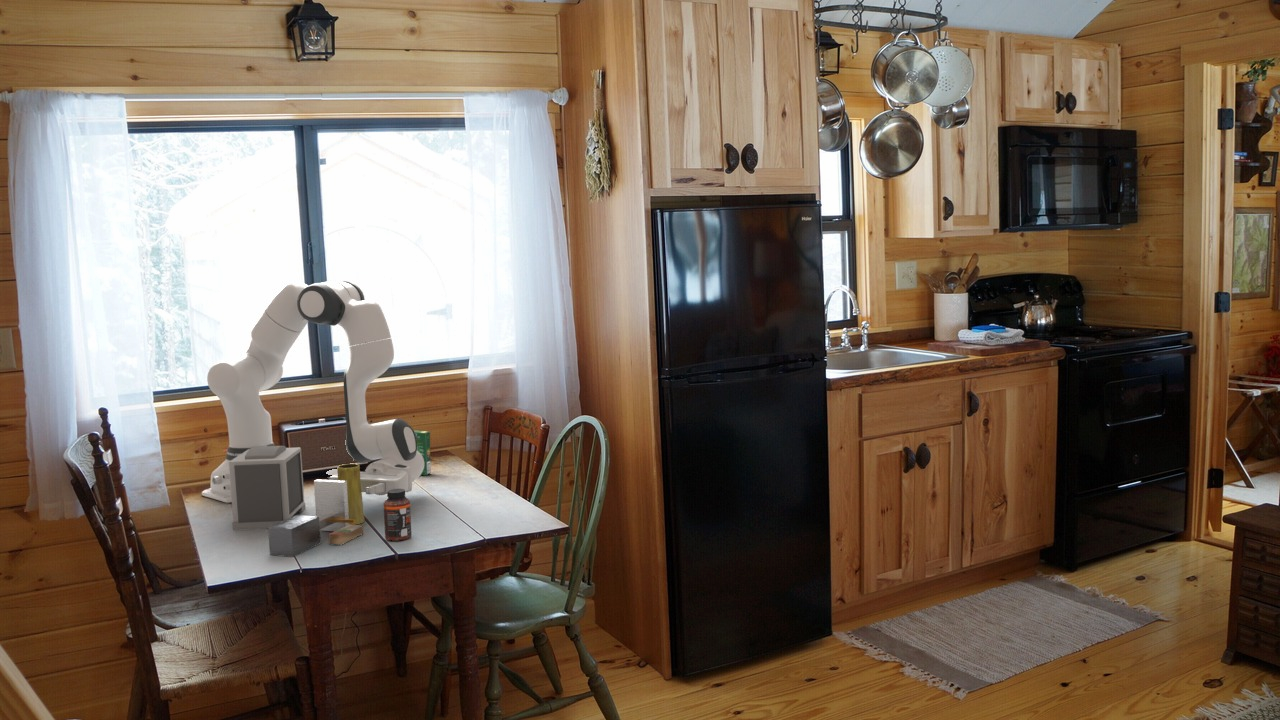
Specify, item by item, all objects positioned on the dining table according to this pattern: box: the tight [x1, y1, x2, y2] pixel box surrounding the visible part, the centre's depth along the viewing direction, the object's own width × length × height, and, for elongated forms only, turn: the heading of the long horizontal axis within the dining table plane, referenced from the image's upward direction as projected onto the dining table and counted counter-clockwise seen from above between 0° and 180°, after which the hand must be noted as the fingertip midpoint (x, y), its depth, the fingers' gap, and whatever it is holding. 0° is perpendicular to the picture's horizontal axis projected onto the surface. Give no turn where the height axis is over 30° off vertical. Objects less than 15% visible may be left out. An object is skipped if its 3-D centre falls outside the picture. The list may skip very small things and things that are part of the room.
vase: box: [337, 463, 365, 525], centre depth 245 cm, size 6×6×14 cm
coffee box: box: [413, 429, 432, 476], centre depth 296 cm, size 8×3×13 cm, turn 71°
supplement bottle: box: [383, 489, 412, 542], centre depth 231 cm, size 6×6×11 cm
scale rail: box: [328, 524, 364, 546], centre depth 232 cm, size 3×9×2 cm, turn 162°
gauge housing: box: [267, 514, 321, 557], centre depth 225 cm, size 6×10×6 cm, turn 162°
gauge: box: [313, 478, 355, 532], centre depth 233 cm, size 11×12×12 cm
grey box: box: [229, 445, 306, 531], centre depth 251 cm, size 18×13×18 cm
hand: (351, 490), depth 246 cm, fingers open, 8 cm apart
